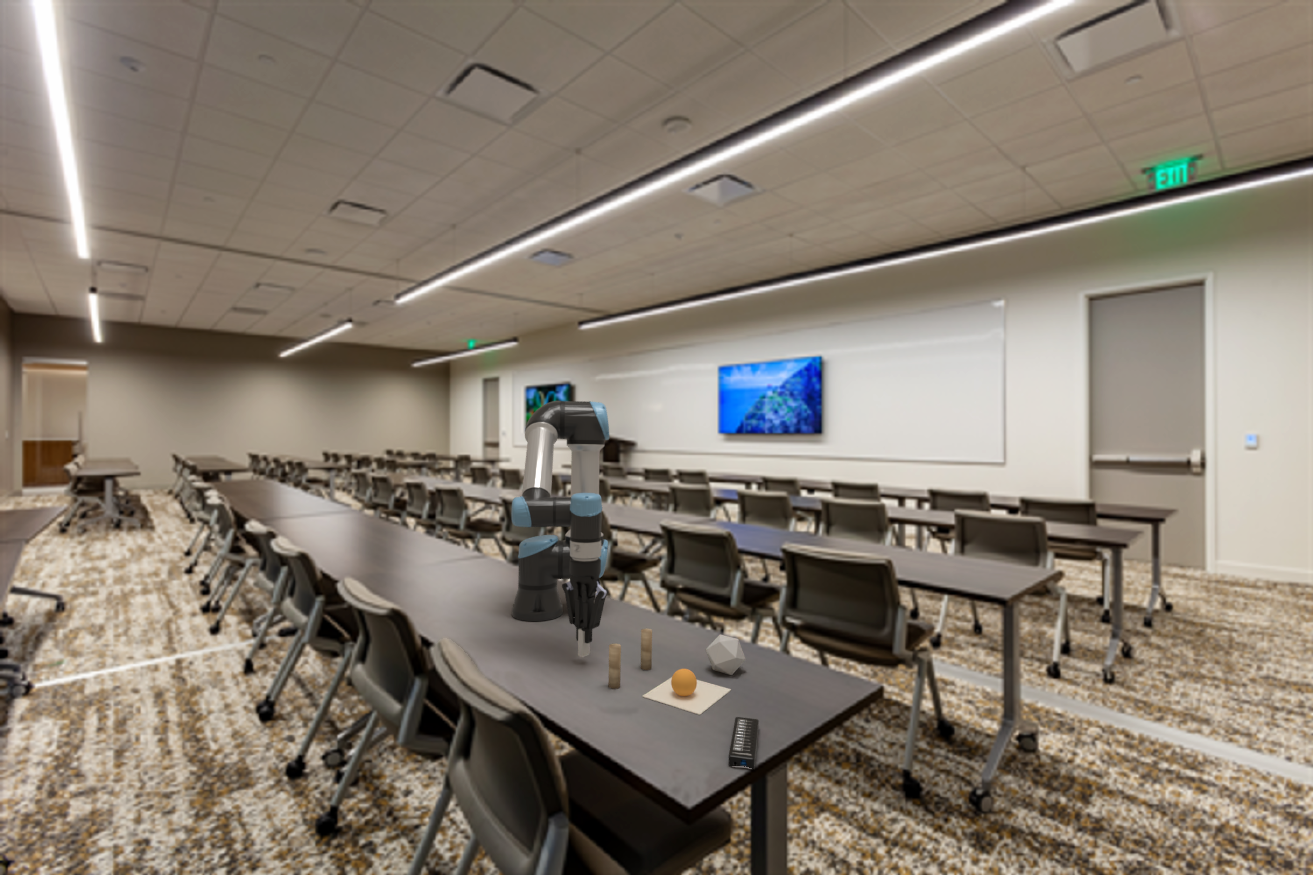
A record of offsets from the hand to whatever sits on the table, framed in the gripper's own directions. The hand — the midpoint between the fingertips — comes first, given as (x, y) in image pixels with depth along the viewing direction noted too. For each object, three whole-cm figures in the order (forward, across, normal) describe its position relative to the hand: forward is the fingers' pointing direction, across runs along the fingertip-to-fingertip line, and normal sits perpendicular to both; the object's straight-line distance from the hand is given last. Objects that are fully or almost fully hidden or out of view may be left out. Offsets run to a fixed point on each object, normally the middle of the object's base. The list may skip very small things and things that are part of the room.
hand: (583, 654), depth 146 cm
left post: (+2, +14, -6) cm, 15 cm away
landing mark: (+2, +29, 0) cm, 29 cm away
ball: (-1, +29, -1) cm, 29 cm away
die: (+2, +30, +16) cm, 34 cm away
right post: (+2, +14, +6) cm, 15 cm away
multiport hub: (+3, +48, -13) cm, 50 cm away
